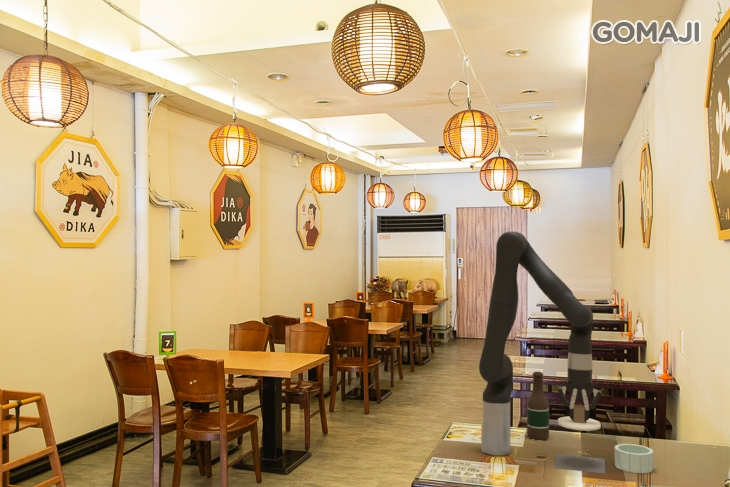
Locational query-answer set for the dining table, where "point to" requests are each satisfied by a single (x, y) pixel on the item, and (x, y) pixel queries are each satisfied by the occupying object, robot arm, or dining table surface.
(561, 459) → the mat
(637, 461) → the bowl
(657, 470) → the dining table surface
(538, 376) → the beer bottle
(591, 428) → the lid
